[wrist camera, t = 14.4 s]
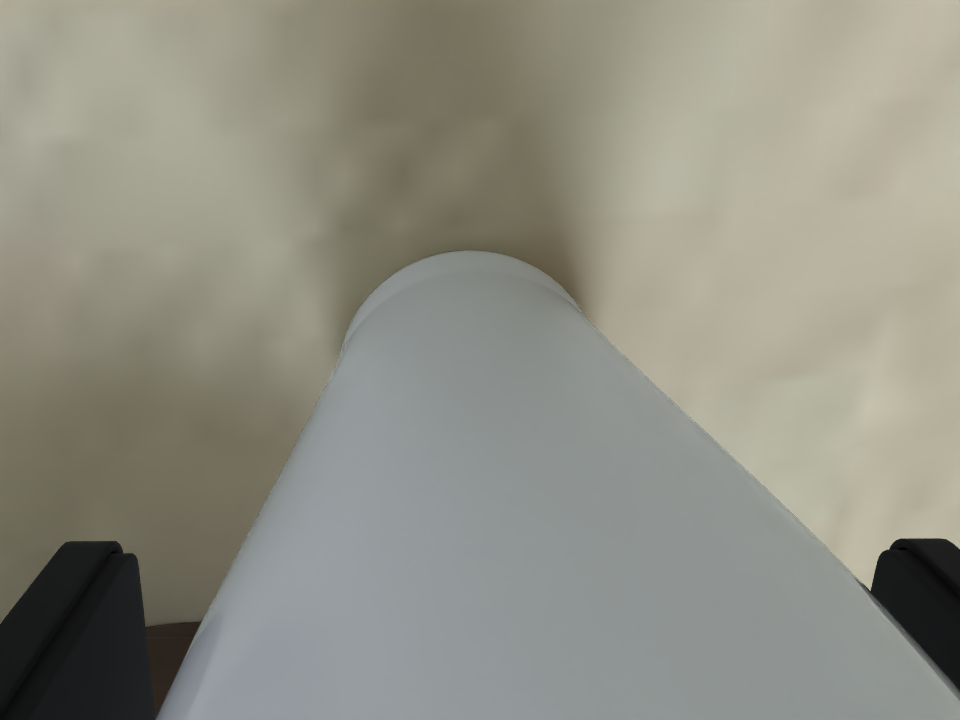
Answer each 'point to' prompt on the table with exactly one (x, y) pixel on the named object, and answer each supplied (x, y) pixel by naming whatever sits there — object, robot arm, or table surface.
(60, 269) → the table surface
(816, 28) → the table surface
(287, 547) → the drinking glass
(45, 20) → the table surface
